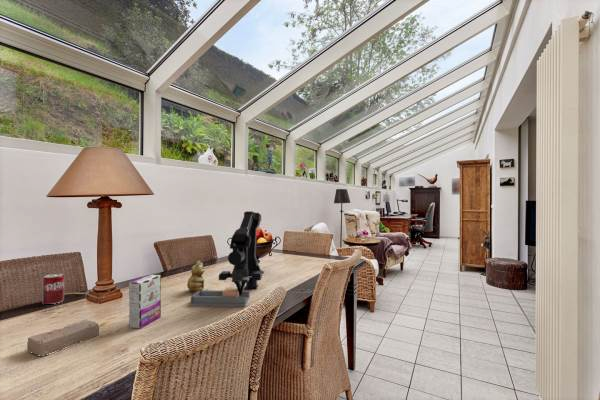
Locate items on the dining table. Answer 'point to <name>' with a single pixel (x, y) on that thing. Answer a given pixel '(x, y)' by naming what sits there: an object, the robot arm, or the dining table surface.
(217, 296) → the grey tray
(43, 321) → the dining table surface
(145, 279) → the candy bar box
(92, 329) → the brick
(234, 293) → the block
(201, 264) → the decorative figurine
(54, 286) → the soda can
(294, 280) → the dining table surface
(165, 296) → the dining table surface
